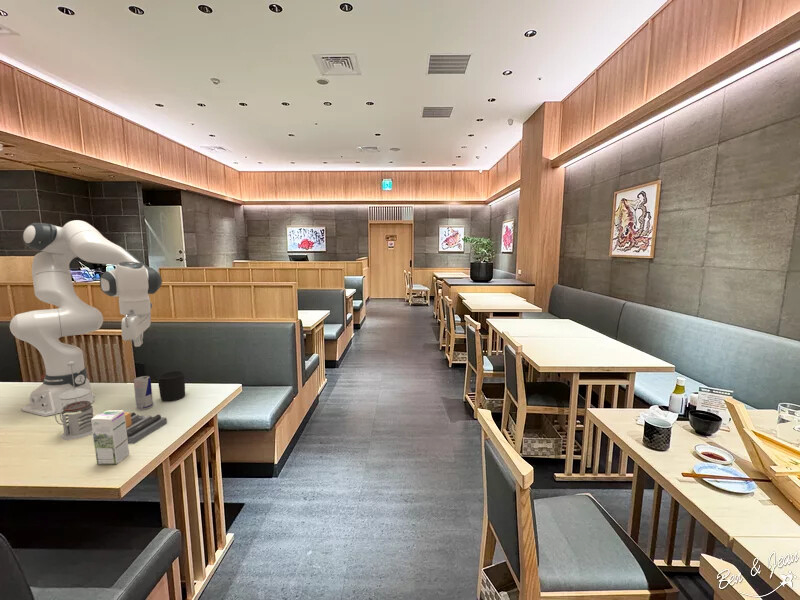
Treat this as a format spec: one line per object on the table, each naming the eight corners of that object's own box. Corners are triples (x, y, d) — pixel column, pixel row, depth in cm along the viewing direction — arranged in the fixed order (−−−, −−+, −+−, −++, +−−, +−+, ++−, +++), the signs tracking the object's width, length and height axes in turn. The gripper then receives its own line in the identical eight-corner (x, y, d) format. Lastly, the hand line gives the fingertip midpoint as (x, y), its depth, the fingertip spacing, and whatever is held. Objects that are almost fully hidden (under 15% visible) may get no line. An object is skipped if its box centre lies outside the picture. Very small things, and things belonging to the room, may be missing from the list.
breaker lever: (116, 431, 119) (114, 416, 118) (124, 426, 121) (122, 412, 121) (124, 431, 118) (122, 416, 117) (132, 427, 121) (130, 412, 120)
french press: (106, 425, 127) (98, 357, 123) (76, 443, 116) (66, 368, 112) (79, 424, 127) (70, 356, 124) (46, 442, 116) (35, 368, 112)
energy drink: (156, 404, 144) (153, 376, 142) (145, 410, 138) (142, 381, 137) (144, 404, 144) (141, 375, 142) (133, 410, 139) (129, 380, 137)
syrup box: (130, 453, 110) (125, 409, 108) (116, 465, 104) (110, 418, 102) (111, 453, 110) (105, 409, 108) (95, 465, 104) (89, 418, 102)
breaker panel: (95, 440, 117) (93, 430, 117) (132, 420, 131) (131, 410, 130) (133, 443, 115) (132, 433, 115) (166, 422, 129) (166, 413, 129)
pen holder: (191, 393, 154) (189, 371, 153) (174, 403, 145) (172, 379, 144) (171, 392, 156) (169, 370, 154) (154, 401, 147) (151, 378, 145)
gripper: (137, 313, 119) (140, 353, 121) (153, 302, 138) (155, 337, 140) (113, 314, 117) (117, 355, 119) (133, 303, 135) (136, 338, 138)
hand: (138, 345), depth 130 cm, fingers closed
